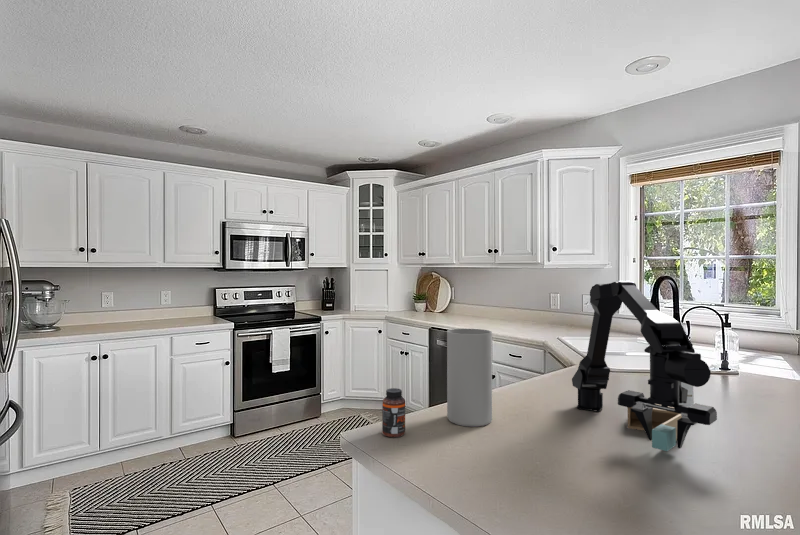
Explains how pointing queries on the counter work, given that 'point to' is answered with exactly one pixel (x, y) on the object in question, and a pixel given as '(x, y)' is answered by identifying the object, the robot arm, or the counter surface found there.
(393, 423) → the supplement bottle
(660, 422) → the carton
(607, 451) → the counter surface
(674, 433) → the carton flap
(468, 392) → the cylinder vase
